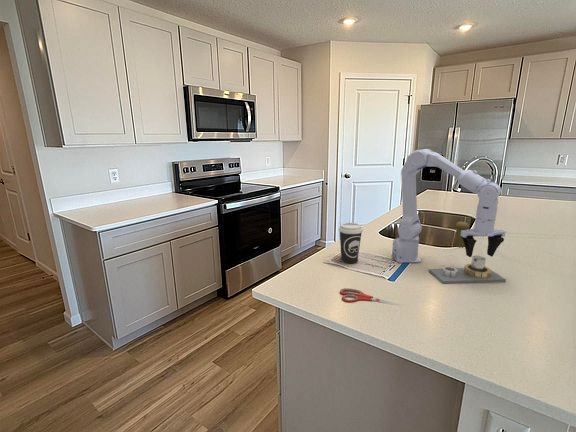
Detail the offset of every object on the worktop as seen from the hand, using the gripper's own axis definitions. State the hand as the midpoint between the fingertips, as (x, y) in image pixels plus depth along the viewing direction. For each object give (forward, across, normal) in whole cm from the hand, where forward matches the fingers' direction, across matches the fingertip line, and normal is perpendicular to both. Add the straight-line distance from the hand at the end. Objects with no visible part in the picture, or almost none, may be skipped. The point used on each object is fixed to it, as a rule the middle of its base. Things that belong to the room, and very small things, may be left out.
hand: (479, 255), depth 109 cm
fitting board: (+8, -4, 0) cm, 9 cm away
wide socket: (+8, 0, 0) cm, 8 cm away
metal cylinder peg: (+7, 0, 0) cm, 7 cm away
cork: (+8, +12, +31) cm, 34 cm away
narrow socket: (+8, -10, 0) cm, 13 cm away
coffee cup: (+8, -42, +17) cm, 46 cm away
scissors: (+9, -41, -13) cm, 44 cm away
